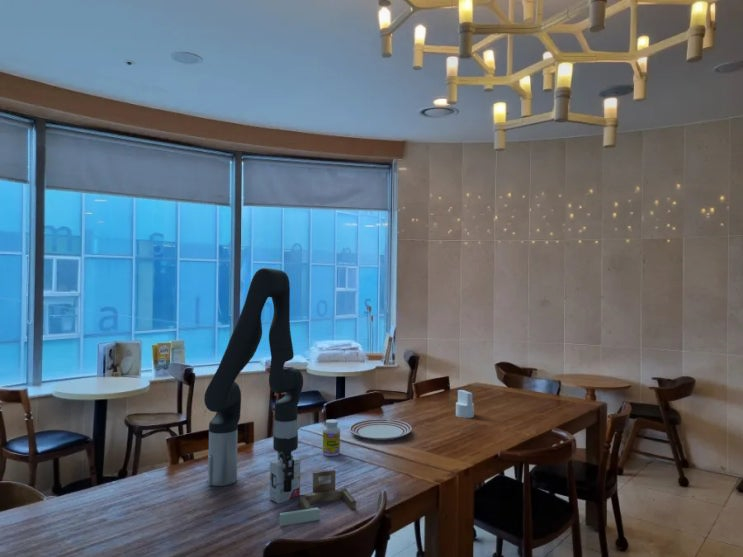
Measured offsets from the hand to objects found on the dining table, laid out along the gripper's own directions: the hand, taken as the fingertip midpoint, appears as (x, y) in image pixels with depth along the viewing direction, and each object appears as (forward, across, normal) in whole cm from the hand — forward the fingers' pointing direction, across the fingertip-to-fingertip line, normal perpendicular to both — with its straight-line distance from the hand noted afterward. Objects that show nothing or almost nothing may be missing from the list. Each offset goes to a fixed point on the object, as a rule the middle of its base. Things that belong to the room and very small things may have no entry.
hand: (285, 486), depth 160 cm
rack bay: (+3, +9, +11) cm, 14 cm away
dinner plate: (+4, -52, +53) cm, 74 cm away
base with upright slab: (+4, -67, +105) cm, 125 cm away
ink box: (+3, 0, 0) cm, 4 cm away
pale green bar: (+3, +17, 0) cm, 18 cm away
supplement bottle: (+4, -34, +25) cm, 42 cm away
